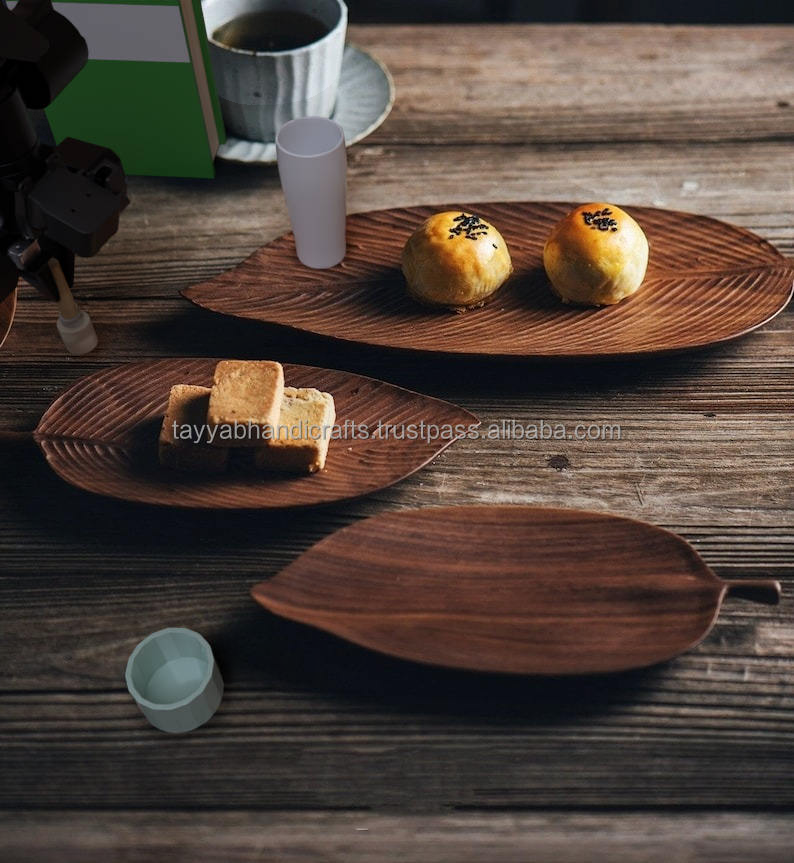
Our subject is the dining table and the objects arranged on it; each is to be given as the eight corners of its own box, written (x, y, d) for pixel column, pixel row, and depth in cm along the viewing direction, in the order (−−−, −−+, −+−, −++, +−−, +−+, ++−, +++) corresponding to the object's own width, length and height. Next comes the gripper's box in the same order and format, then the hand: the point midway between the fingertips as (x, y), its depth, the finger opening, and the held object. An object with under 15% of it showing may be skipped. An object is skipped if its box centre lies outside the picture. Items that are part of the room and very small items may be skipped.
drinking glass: (324, 226, 103) (312, 106, 91) (366, 255, 100) (359, 134, 88) (277, 255, 100) (259, 135, 88) (319, 286, 97) (306, 166, 85)
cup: (151, 747, 68) (134, 722, 64) (134, 672, 71) (118, 644, 68) (233, 717, 69) (222, 691, 65) (213, 645, 73) (201, 616, 69)
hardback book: (227, 143, 113) (189, -60, 94) (214, 181, 108) (172, -25, 89) (85, 138, 114) (20, -65, 95) (67, 175, 110) (-6, -30, 91)
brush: (68, 358, 87) (34, 279, 79) (63, 336, 89) (29, 257, 81) (100, 349, 88) (69, 270, 80) (95, 328, 89) (64, 248, 82)
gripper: (6, 247, 64) (72, 394, 76) (156, 102, 74) (193, 252, 86) (-120, 206, 66) (-36, 354, 79) (42, 72, 77) (94, 221, 89)
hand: (61, 293), depth 83 cm, fingers closed on brush, 2 cm apart
